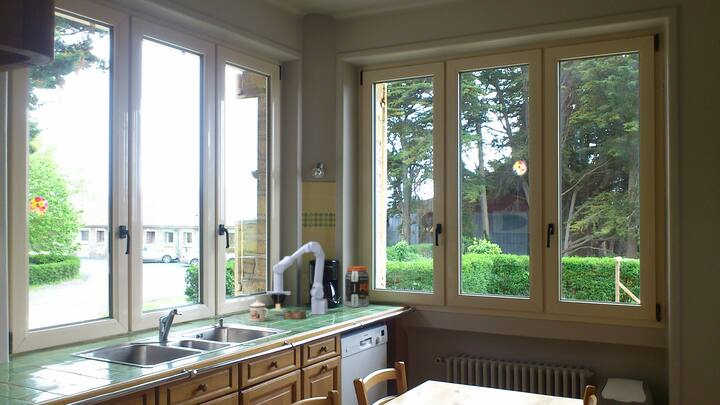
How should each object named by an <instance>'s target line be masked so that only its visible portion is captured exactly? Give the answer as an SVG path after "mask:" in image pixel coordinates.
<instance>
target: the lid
mask: <svg viewBox="0 0 720 405" xmlns="http://www.w3.org/2000/svg"><path fill="white" fill-rule="evenodd" d="M287 311H289V309H288V307H287V308H284V307H280V303H277V304H276V307H274V308H272V309H269V312H280V313H281V312H283V313H284V312H287Z"/></svg>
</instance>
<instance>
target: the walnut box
mask: <svg viewBox="0 0 720 405" xmlns="http://www.w3.org/2000/svg"><path fill="white" fill-rule="evenodd" d="M283 314H284V317H283V320H302V319H305V318H306V317H307V311H306V310H298V309H296V310H292V309H291V310H289V309H288V310H286V311H283Z"/></svg>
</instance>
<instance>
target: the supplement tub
mask: <svg viewBox="0 0 720 405" xmlns="http://www.w3.org/2000/svg"><path fill="white" fill-rule="evenodd" d="M346 271H347V272H346V273H345V275H344V284H345V285H344V286H345V288H344V290H345V291H344V292H345V294H344V295H345V298H344V299H345V303H344V304H345V305H346V306H347V307H348V308H349V307H351V308H361V307H362V308H363V307H368V306H369V305H370V286H369V285H370V281H369V280H370V277H369V273H368V272H367V266H364V265H363V266H361V265H358V266H347V270H346Z"/></svg>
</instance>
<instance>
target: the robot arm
mask: <svg viewBox="0 0 720 405" xmlns="http://www.w3.org/2000/svg"><path fill="white" fill-rule="evenodd" d="M305 253H311V254H313V255H314V257H315V267H314V276H313V277H314V279H313V284H312V287H311V289H310V295H311V298H310V299H311V301H310V302H311V305H310V306H311V312H309V313H308V314H309V315H326V314H328V299H324V295H325V292H324V285H323V277H324V268H325V258H326V257H325V255H326V254H325V252H324V250H323V248H322V245H321V244H320V243H319V242H316V241H308V243H305V244H304V245H302V246H301V247H300V248H299V249H298V250H296V251H295V252H294V253H293V254H291V255H287V256H284V257H283V259H282V260H280V261H278V262H277V263H276V264H274V265H273V268H272V272H273V290H271V291H270V290H267V291H266V296H268V295H270V297H271V299H272V301H273V304H274V308H276V304H278V297H279V304H280V307H282V308H284V307H283V306H284V302H285V300H286V297H287V296H290V295H291V291H290V290H289V291H288V290H287V291H285V290H284V271H285V270H286V269H287V268H289V267H291V265H293V264H294V262H295V261H296V259H298V258H299V257H301V256H302V255H303V254H305Z"/></svg>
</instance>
